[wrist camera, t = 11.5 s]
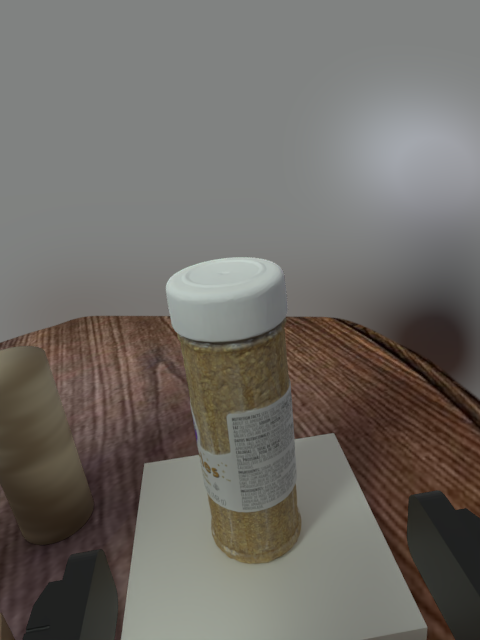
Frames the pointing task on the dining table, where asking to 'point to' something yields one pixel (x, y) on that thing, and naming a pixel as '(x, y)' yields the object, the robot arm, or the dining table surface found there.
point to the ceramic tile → (266, 564)
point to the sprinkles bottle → (240, 401)
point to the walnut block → (5, 630)
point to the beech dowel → (39, 451)
